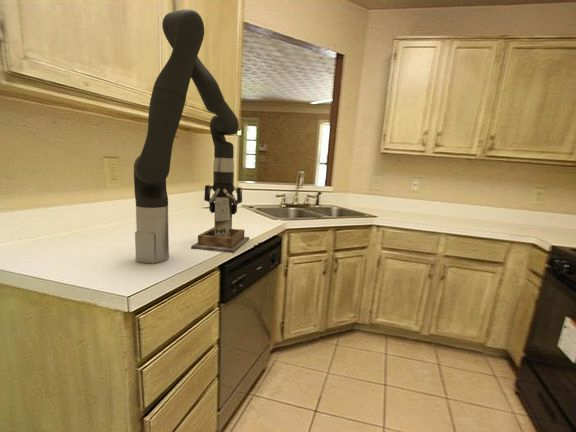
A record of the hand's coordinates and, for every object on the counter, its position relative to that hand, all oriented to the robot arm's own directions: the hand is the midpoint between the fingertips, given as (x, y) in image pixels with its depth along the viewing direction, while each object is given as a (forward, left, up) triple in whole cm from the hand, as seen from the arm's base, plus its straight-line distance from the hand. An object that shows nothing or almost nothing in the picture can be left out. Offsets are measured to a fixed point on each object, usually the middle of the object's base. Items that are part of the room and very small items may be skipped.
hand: (223, 213), depth 117 cm
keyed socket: (0, 0, -12) cm, 12 cm away
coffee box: (0, 0, -10) cm, 10 cm away
